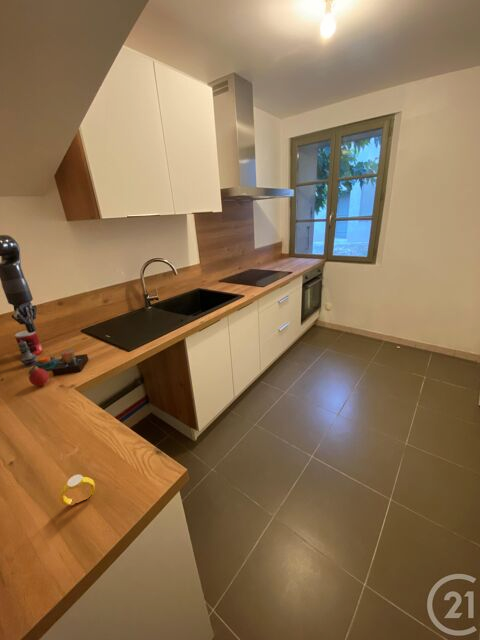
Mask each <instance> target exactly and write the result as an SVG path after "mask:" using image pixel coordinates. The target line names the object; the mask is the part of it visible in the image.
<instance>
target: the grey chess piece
mask: <svg viewBox="0 0 480 640" xmlns="http://www.w3.org/2000/svg"><path fill="white" fill-rule="evenodd" d="M17 346H18V349H19V352H20V354H21V357H19V359H18V360H19V362H20V363H22V364H23V365H22V367H23V368H31V367H34V366H35V365H36V363H37V362H38V361H39V360H36V359H37V356H36V354H31V352H30V350H29V349H30V348H29V347H28V346H27V343H26V342H25V341H22V340H20V342H19V343H17Z"/></svg>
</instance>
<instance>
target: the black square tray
mask: <svg viewBox="0 0 480 640" xmlns="http://www.w3.org/2000/svg"><path fill="white" fill-rule="evenodd" d="M75 358H76V361H74V362H73V363H70V364H64V362H63V359H62V357H60V358H59V359H60V360H59V362H58V363H57V364H56V365H55V366H54V367H53V368H52V371H51V372H52V375H53V377H56V376H62V375H69V374H70V375H71V374H76V373H82V371H83V369H84V368H85V366H86V365H87V363H88V362H89V356H88V354H87V353H85V354H76V355H75Z"/></svg>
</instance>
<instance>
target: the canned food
mask: <svg viewBox="0 0 480 640" xmlns="http://www.w3.org/2000/svg"><path fill="white" fill-rule="evenodd" d="M14 338H15V340H16V343H17V344H18V343H19V342H20V340H22V341H25V342H26V343H27V346H28V347H29V348H30V349H29V350H30V352H31V354H36V357H37V356H39V355H41V354H42V353H43V347H42V345H41V342H40V339H39V337H38V334H37V331H35V332H33V333H28V331H27V329H26V330H22V331H18V332H17V333H15V334H14Z"/></svg>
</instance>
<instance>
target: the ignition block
mask: <svg viewBox="0 0 480 640" xmlns="http://www.w3.org/2000/svg"><path fill="white" fill-rule="evenodd" d="M49 357H50V359H51V360H50V361H49V362H46V363H40V360H37V361H38V362H37V363H36V365H34V366H32V368H31V369H30V370H29V371H28V372H29V375H30V374H31V372H32V371H33V370H34V368H35V367H38V368H39V369H44V370H46V371H47V372H52V368H53V367H54V366H55V365H56V364H57V363H58V362H59V360H60V359H61V358H55V357H54V356H49Z"/></svg>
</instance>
